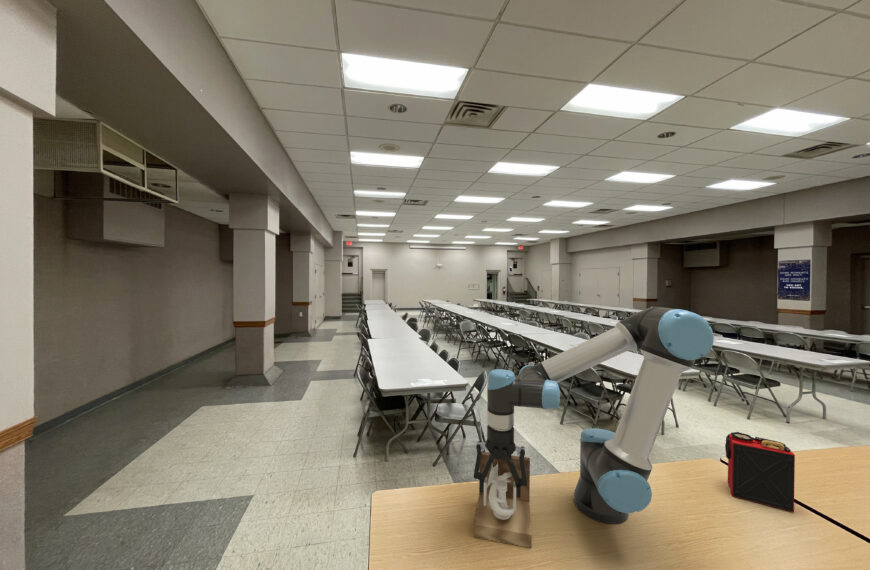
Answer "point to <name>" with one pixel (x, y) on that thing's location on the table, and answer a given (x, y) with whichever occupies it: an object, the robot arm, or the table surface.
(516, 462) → the wall shelf
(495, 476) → the figurine
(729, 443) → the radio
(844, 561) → the table surface
